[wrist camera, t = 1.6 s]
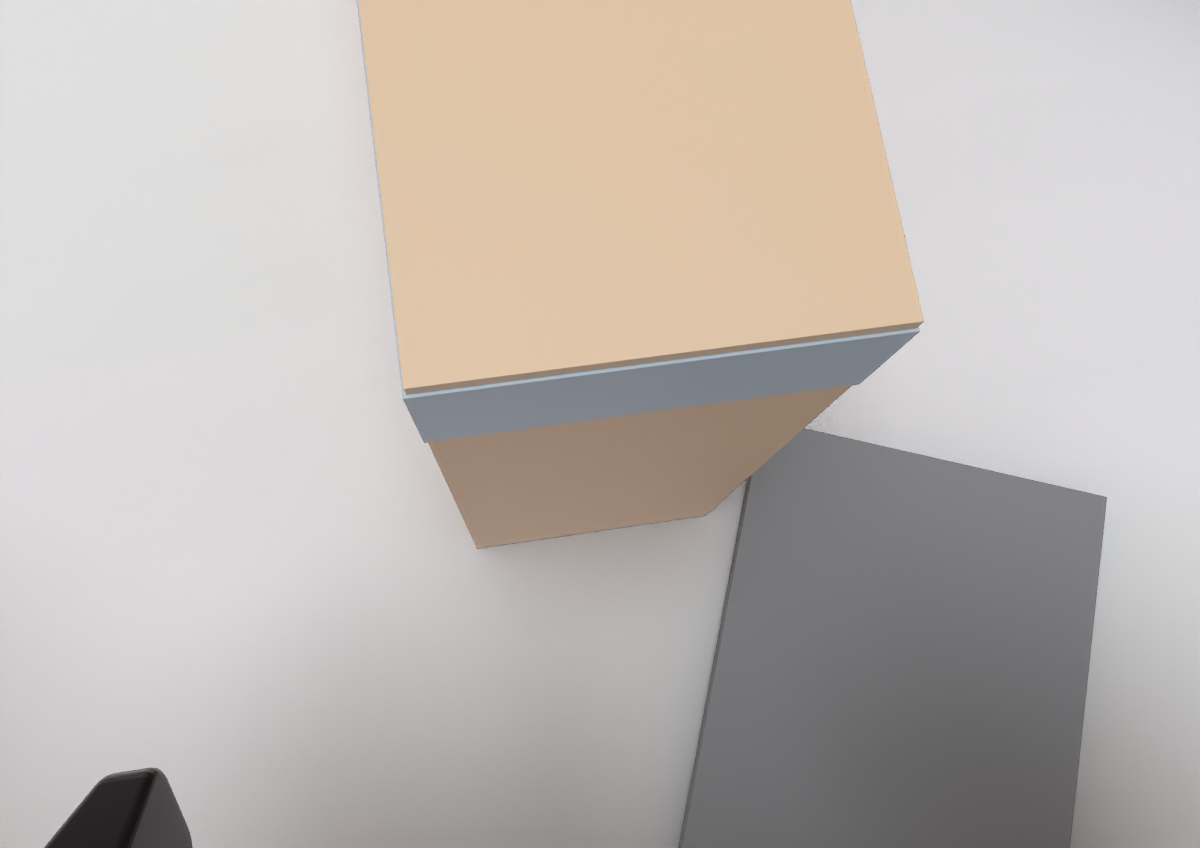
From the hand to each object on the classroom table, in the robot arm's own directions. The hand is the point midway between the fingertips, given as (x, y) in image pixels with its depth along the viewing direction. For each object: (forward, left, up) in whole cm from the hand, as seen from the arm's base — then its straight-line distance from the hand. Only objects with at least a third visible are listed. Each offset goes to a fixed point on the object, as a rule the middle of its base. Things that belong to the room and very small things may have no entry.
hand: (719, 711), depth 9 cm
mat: (+1, -5, -11) cm, 13 cm away
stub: (+5, +2, -11) cm, 13 cm away
